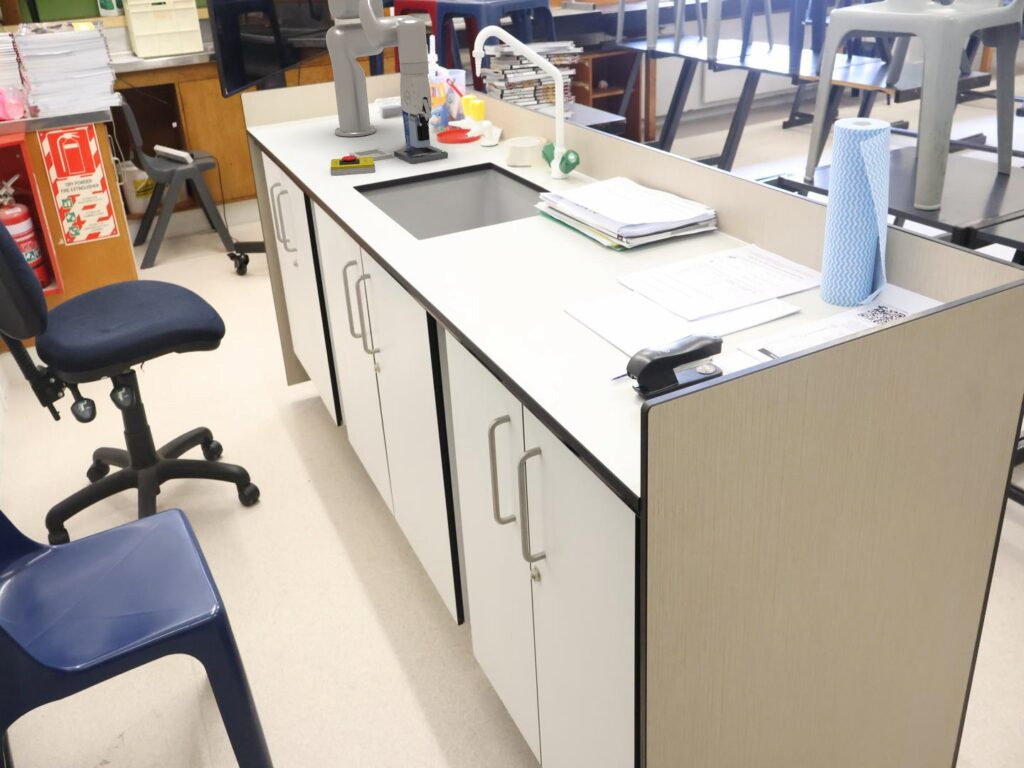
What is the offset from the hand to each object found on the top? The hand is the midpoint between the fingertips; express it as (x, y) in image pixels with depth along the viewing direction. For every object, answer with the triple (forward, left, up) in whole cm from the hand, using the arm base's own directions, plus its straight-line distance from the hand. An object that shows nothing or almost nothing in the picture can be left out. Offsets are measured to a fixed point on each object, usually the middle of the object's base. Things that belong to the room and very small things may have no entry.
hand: (419, 138), depth 248 cm
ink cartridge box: (-14, +6, -6) cm, 17 cm away
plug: (0, 0, -2) cm, 2 cm away
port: (0, 0, -6) cm, 6 cm away
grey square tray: (-9, -11, -6) cm, 15 cm away
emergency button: (+1, -20, -6) cm, 21 cm away
